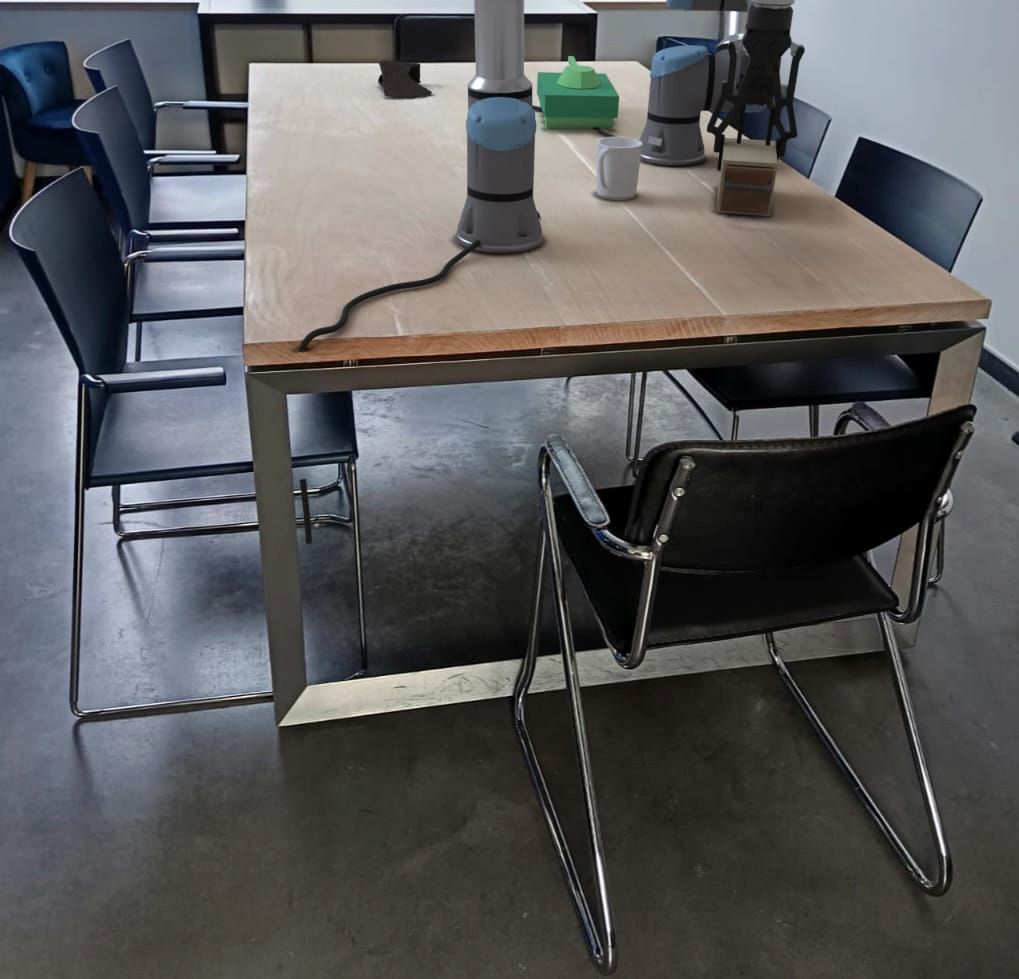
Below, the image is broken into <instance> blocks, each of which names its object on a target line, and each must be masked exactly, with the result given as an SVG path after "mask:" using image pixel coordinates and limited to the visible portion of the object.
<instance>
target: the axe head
mask: <svg viewBox="0 0 1019 979" xmlns="http://www.w3.org/2000/svg"><path fill="white" fill-rule="evenodd" d="M378 66H379V68H380V72H381V74H379V75H378V79H377V84H378V85H379V86H380V87H381V88H382V89H383V95H384V96H385V97H388V98H394V99H395V98H396V99H403V98H405V99H406V98H407V99H411V98H418V97H425V96H429V95H432V94H433V91H431V90H430V89H428V88H427V87H425V86H422V85H421V84H422V82H421V63H419V62H410V61H408V62H407V61H397V60H388V59H387V60H380V61H379V62H378Z"/></svg>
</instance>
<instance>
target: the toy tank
mask: <svg viewBox="0 0 1019 979" xmlns="http://www.w3.org/2000/svg"><path fill="white" fill-rule="evenodd" d="M567 63H568V65H567V66H566V67H564V69H563V70H562V72H551V71H549V72H548V71H547V72H545V71H544V72H543V71H542V72H541V71H537V76H536V77H537V78H536V79H537V80H536V94H537V97H538V102H539V104H540V105H539V107H541V108H542V111H543V112H542V111H541V112H542V113H543V114H542V115H543V117H544V128H545V130H547V129H548V130H593V128H595V127H598V128H600V129H601V130H613V129H614V126H615V119H619V107H620V95H619V94H618V91H617V90H616V88H615V87H614V85H613V84H612V81H611V80H610V78H609V77H608V75H607V74H606V73H601V72H600V73H599V72H598V73H597V72H596V70H595V68H593V67H591V66H589V65H580V64H578V62H577V61H576V58H575V56H573V55H568V56H567Z"/></svg>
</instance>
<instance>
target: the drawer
mask: <svg viewBox="0 0 1019 979" xmlns="http://www.w3.org/2000/svg"><path fill="white" fill-rule="evenodd" d="M773 174H774V169H769V167H757V166H743V165H728V166H726V167H725V175H724V184H723V192H722V200H721V208H720V211H732V212H746V213H760V214H768V208H769V201H770V194H772V180H773Z"/></svg>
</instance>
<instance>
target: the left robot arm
mask: <svg viewBox="0 0 1019 979" xmlns="http://www.w3.org/2000/svg"><path fill="white" fill-rule="evenodd" d="M750 1H751V2H752V3H753V5H751V7H749V13H748V21H747V29H746V33H745V35H744V36H743V38H742V39H741V40H738V41H735V42H733V41H730V42H729V43H728V51H729V55H730V62H729V71H728V80H727V89H726V101H728V102H731V103H733V104H734V106H735V107H734V115H733V120H732V122H733V124H734V125H738V127H737V135H736V139H737V144H741V139H743V138H742V137H743V130H744V122H745V115H746V113H745V108H746V104H742V102H743V99H744V96H745V94H746V91H747V88H748V85H749V83H750V80H751V77H752V74H753V71H754V69H755V66H756V64H757V63H761V62H766V63H772V73H773V84H774V105H775V106H773V105H771V106H770V112H769V114H768V121H767V128H766V136H765V140H766V146H770V142H771V141H772V134H773V128H774V127H776V126H778V125H779V123H780V119H781V116H782V111H783V108H785V107H787V105H792V103H794V99H795V93H796V86H797V80H798V75H799V74H798V73H799V68H800V61H801V60H802V57H803V56H804V54H805V52H806V49H805V46H804V44H798V43H796V42H793V40H792V37H791V30H792V29H791V28H792V22H793V16H794V9H793V7H792V5H794V4H795V2H796V0H750ZM473 3H474V4H473V5H474V7H473V8H474V46H475V47H474V52H475V53H474V54H475V56H474V57H475V75H474V76H473V77H472V79H470V81H469V82H468V83H467V113H466V114H467V117H466V120H465V121H466V122H465V130H466V192H467V193H466V198H465V202H464V205H463V209H462V211H461V214H460V218H459V220H458V224H457V228H456V241H457V243H458V244H459V245H461V246H462V247H464V249H463V250H462V251H460V252H459V253H458V254H456V255H455V256H454V257H452V258H451V259H450V260H448V262H446V264H445V265H444V266H443V268H442V269H441V271H440V272H439V273H437V274H436V275H433V276H431V277H428V278H423V279H419V280H412V281H405V282H399V283H393V284H389V285H385V286H381V287H378V288H374V289H372V290H369V291H366V292H364V293H362V294H360V295H358V296H356V297H355V298H353V299H352V300H350V301H349V302H347V303H346V304H345V305H344V307H343V309H342V311H341V316H340V318H339V320H338V321H337V322H336V323H335V324H333V325H329V326H323V327H320V328H316V329H314V330H312V331H311V332H309V333H308V334H307V335H306V336H305V337H304V338H303V339H302V341H301V342H300V344H299V346H298V348H297V352H300V353H302V352H305V351H306V350H307V348H308V346H309V344H310V343H311V342H312V341H313V340H314V339H315V338H318V337H320V336H324V335H328V334H333V333H336V332H339V330H341V329H342V328H343V327H344V326H345V325H346V323H347V322H348V318H349V313H350V311H351V310H352V309H353V308H354V307H355V306H357V305H358V304H360V303H362V302H364V301H366V300H369V299H371V298H375V297H378V296H381V295H383V294H386V293H391V292H394V291H399V290H406V289H414V288H420V287H424V286H425V287H426V286H429V285H432V284H435V283H437V282H440V281H441V280H443V279H444V278H445V277H447V275H448V273H449V271H450V270H451V268H452V267H453V266H454V265H456V264H457V263H458V262H460V260H462V259H463V258H465V257H466V256H467V255H468V254H470V253H471V252H473V251H475V252H479V253H486V254H497V255H499V254H500V255H506V254H507V255H508V254H517V253H524V252H527V251H530V250H533V249H536V248H538V247H539V246H540V245H541V244H542V243H543V229H542V224H541V221H542V218H541V214H540V212H539V211H538V210H537V206H536V204H535V199H534V184H535V181H534V180H535V149H536V133H537V128H538V127H537V120H536V112H535V110H534V109H533V108H532V105H533V82H532V81H531V80H530V79H529V78H528V77H527V76H526V75H525V0H473ZM742 46H744V47H745V49H746V51H747V53H748V54H749V56H750V59H749V62H748V65H747V68H746V71H745V74H744V77H743V79H742V82H741V85H740V88H739V91H738V93H737V96H736V95H734V94H733V89H734V80H735V71H736V62H737V54H739V53H740V51H741V47H742ZM789 49H790V56H791V57H792V58H791V63H790V69H789V75H788V82H787V85H788V88H787V94H786V97H784V96H783V95H782V91H781V84H782V83H781V74H780V72H781V69H780V70H779V59H780V58H781V59H782V57H783V56H784V54H785V53H786V52H787V51H788V50H789ZM307 484H308V482H307V478H301V479H299V487H300V494H301V496H300V497H301V502H302V503H301V505H302V514H303V522H304V523H303V524H304V525H303V526H304V538H305V544H306V545H311V544H313V536H312V535H313V534H312V523H311V511H310V503H309V502H310V501H309V492H308V485H307Z"/></svg>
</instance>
